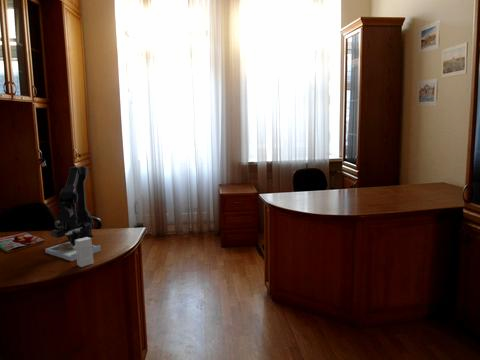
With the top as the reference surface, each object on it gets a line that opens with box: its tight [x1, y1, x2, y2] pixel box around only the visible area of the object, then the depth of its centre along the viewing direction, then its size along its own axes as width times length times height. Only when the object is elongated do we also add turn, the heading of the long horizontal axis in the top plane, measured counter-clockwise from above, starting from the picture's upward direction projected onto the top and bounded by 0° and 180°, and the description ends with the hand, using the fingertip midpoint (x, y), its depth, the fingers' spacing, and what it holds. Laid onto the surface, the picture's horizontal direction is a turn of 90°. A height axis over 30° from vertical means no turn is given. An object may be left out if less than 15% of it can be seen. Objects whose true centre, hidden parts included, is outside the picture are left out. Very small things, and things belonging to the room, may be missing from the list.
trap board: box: [44, 240, 102, 262], centre depth 198 cm, size 16×22×3 cm
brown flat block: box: [58, 242, 73, 252], centre depth 196 cm, size 4×4×2 cm
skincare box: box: [75, 237, 94, 268], centre depth 180 cm, size 6×4×12 cm
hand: (73, 246), depth 198 cm, fingers closed
